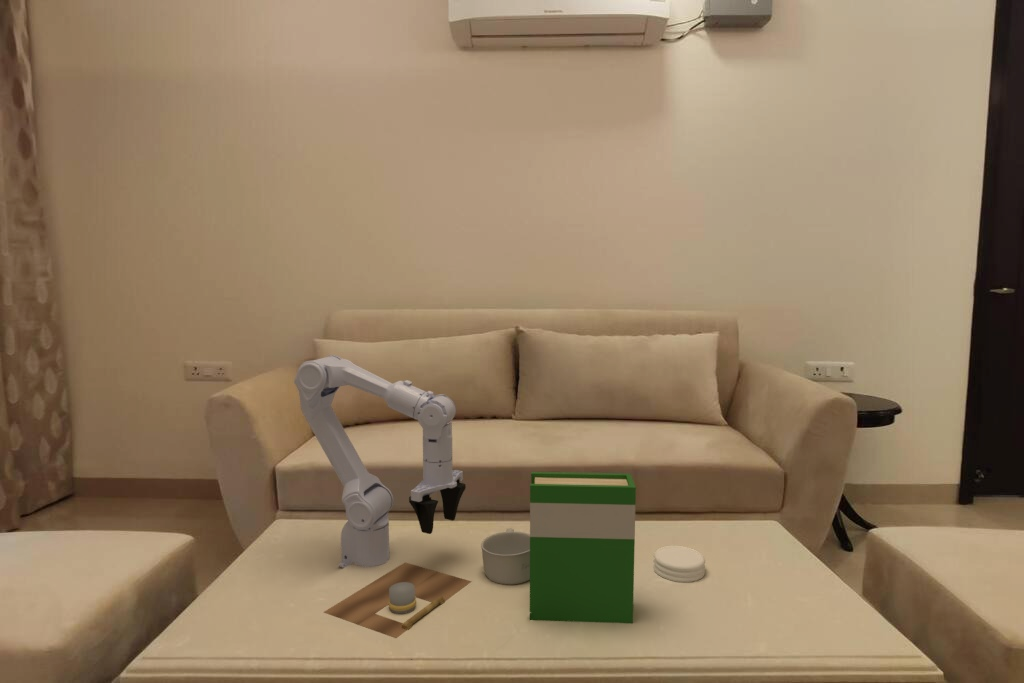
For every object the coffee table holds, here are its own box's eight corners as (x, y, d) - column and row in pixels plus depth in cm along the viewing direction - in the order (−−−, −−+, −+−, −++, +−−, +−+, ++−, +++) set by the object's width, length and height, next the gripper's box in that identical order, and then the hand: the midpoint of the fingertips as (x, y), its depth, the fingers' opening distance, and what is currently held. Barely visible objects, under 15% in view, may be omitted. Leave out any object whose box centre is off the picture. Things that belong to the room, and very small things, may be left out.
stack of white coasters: (692, 588, 124) (693, 571, 124) (644, 573, 131) (645, 556, 130) (712, 569, 132) (712, 553, 132) (666, 556, 138) (666, 540, 138)
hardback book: (529, 620, 113) (530, 485, 110) (530, 598, 120) (531, 471, 118) (632, 623, 112) (635, 487, 109) (627, 601, 119) (630, 473, 117)
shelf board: (323, 620, 113) (323, 606, 112) (405, 569, 132) (404, 557, 131) (396, 647, 105) (396, 632, 105) (472, 588, 124) (471, 576, 124)
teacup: (532, 596, 121) (532, 555, 120) (475, 591, 123) (474, 550, 122) (543, 563, 135) (543, 526, 134) (492, 559, 137) (492, 522, 136)
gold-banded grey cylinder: (402, 625, 111) (401, 597, 111) (383, 617, 114) (382, 590, 113) (422, 613, 115) (421, 586, 114) (403, 605, 118) (402, 579, 117)
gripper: (431, 471, 119) (432, 543, 121) (475, 452, 132) (475, 517, 133) (401, 465, 123) (402, 535, 124) (446, 447, 135) (447, 510, 137)
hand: (438, 525), depth 129 cm, fingers open, 7 cm apart
